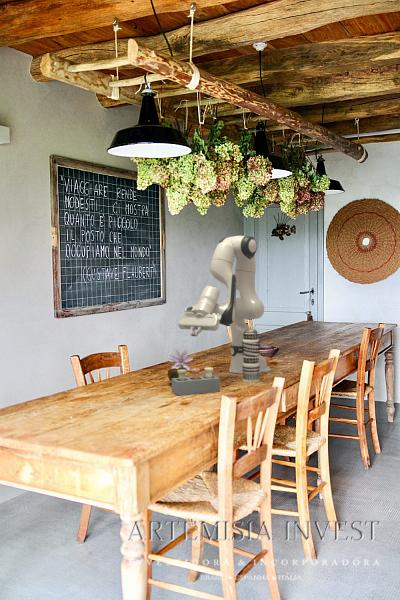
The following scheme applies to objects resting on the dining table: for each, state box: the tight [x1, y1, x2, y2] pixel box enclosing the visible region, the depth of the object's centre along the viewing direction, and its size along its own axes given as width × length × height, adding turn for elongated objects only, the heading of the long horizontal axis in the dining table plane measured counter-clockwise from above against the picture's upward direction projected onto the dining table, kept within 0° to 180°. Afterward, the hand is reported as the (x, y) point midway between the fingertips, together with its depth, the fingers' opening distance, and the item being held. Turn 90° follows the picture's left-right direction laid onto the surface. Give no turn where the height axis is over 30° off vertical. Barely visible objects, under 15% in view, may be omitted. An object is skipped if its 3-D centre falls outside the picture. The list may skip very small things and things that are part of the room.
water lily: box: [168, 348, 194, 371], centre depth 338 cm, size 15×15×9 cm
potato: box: [167, 367, 180, 382], centre depth 298 cm, size 8×13×8 cm, turn 147°
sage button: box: [178, 368, 187, 381], centre depth 277 cm, size 4×4×7 cm
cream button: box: [203, 366, 214, 379], centre depth 282 cm, size 4×4×7 cm
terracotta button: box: [190, 367, 201, 380], centre depth 279 cm, size 4×4×7 cm
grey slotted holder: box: [171, 374, 221, 396], centre depth 280 cm, size 20×9×6 cm, turn 111°
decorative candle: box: [242, 328, 261, 383], centre depth 303 cm, size 9×9×25 cm
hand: (193, 335), depth 287 cm, fingers closed
